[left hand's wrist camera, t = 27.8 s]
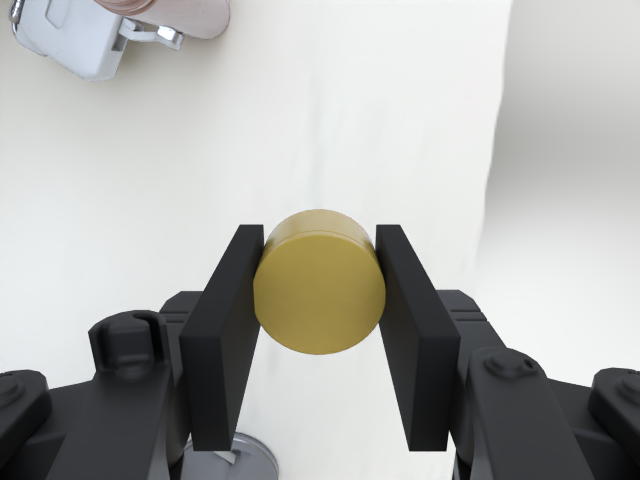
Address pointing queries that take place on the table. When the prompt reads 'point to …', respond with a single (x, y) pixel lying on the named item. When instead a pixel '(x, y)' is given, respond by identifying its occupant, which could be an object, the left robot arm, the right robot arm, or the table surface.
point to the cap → (319, 283)
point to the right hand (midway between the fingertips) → (195, 6)
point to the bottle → (176, 14)
